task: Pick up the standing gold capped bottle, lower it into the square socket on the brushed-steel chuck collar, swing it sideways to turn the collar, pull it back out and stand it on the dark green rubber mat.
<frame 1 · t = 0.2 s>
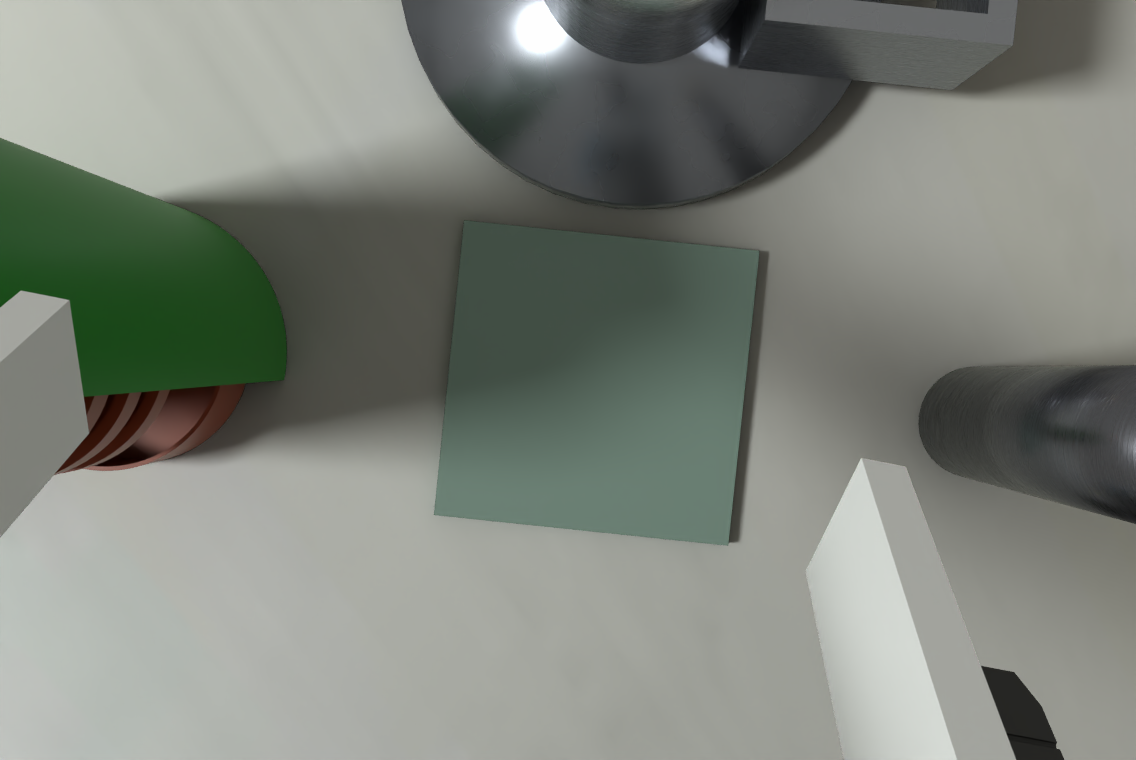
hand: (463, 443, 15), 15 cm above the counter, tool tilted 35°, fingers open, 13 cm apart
motor: (134, 334, 31), on the counter
gold capped bottle: (974, 422, 30), on the counter
mat: (596, 383, 30), on the counter
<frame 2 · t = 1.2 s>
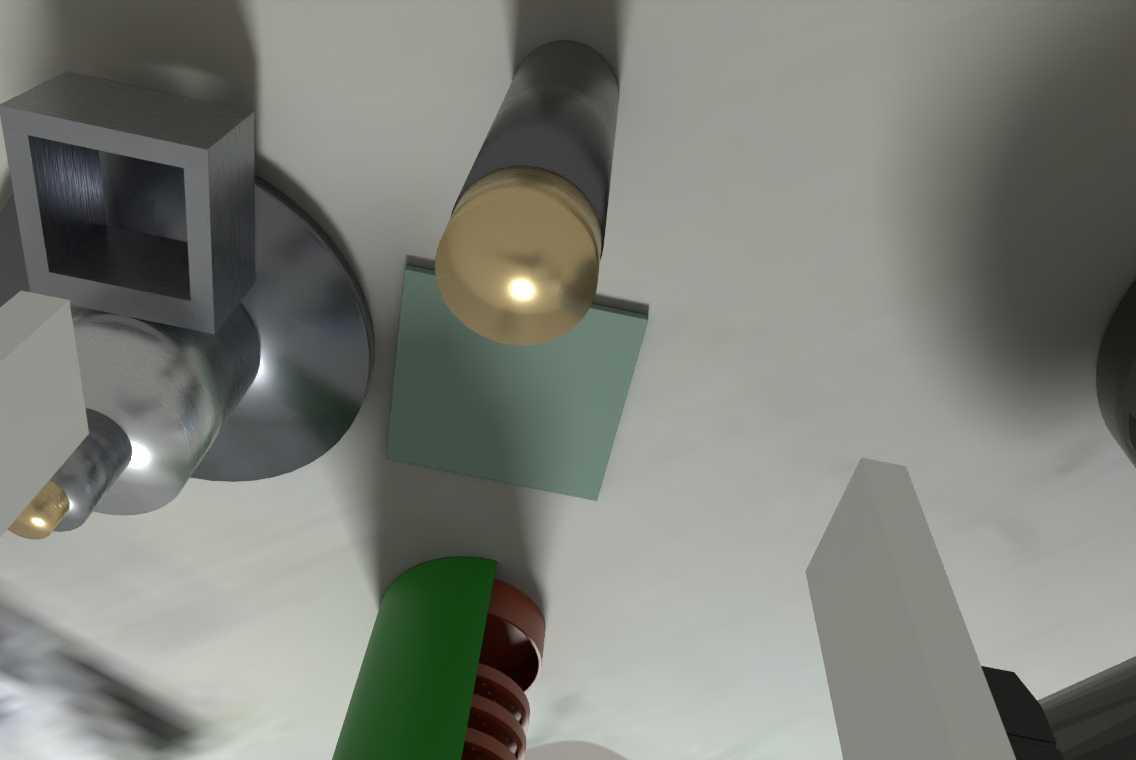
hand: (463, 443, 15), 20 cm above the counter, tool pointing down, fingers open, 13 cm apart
motor: (464, 624, 48), on the counter
chuck base: (190, 323, 38), on the counter
gold capped bottle: (565, 96, 32), on the counter
mat: (509, 388, 39), on the counter
chuck: (101, 336, 31), point 7 cm above the counter, hinge at 0.0°
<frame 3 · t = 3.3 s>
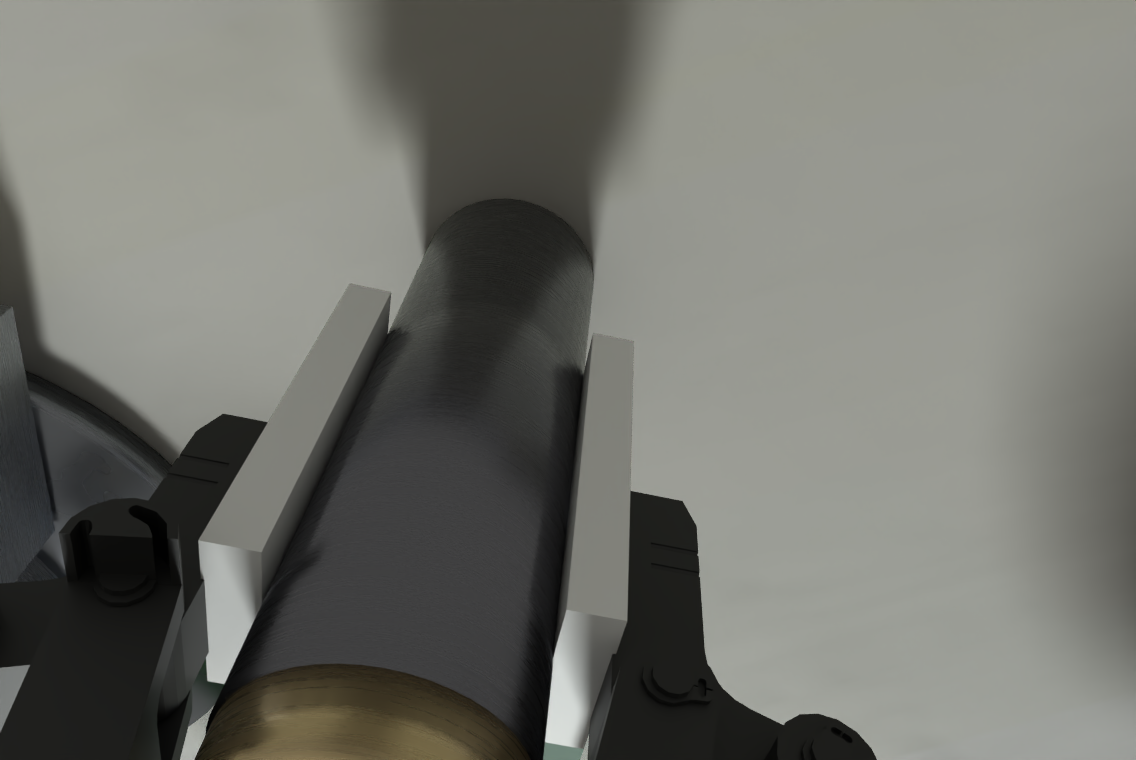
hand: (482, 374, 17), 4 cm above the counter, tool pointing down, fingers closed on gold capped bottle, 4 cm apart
gold capped bottle: (508, 278, 20), on the counter, touching gripper
mat: (445, 647, 27), on the counter
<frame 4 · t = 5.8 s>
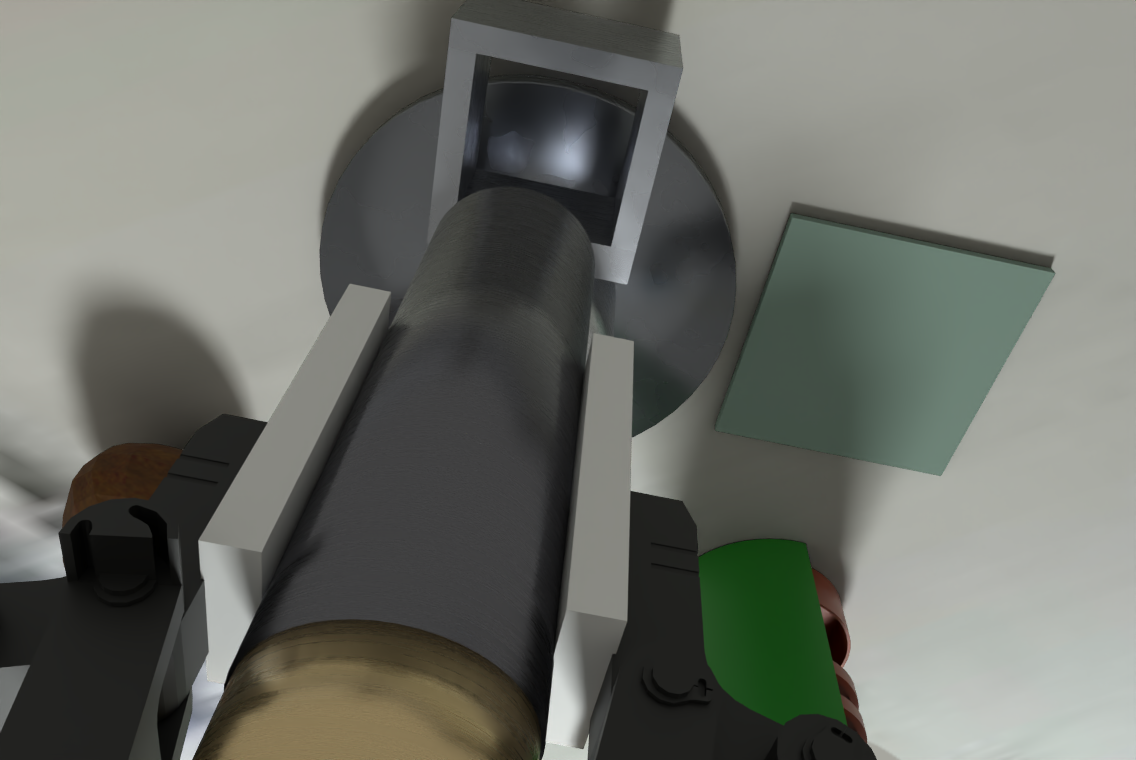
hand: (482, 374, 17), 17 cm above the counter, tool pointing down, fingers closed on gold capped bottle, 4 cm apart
motor: (750, 611, 45), on the counter
chuck base: (528, 281, 35), on the counter
gold capped bottle: (512, 265, 20), point 13 cm above the counter, touching gripper
potato: (194, 474, 43), on the counter
mat: (870, 352, 36), on the counter
chuck: (521, 285, 28), point 7 cm above the counter, hinge at 0.0°
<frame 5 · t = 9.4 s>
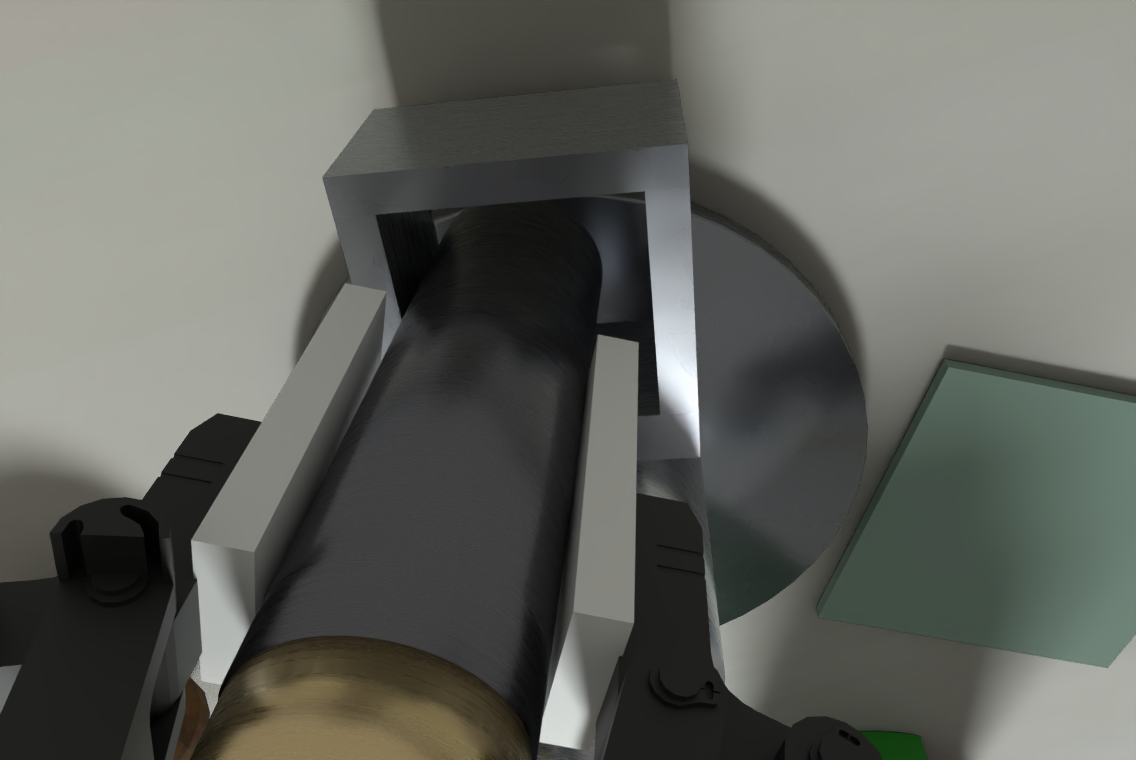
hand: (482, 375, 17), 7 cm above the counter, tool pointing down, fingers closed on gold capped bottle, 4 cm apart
chuck base: (577, 442, 26), on the counter
gold capped bottle: (519, 272, 20), point 2 cm above the counter, touching chuck, gripper
potato: (137, 659, 33), on the counter
mat: (1032, 525, 27), on the counter
chuck: (544, 511, 18), point 7 cm above the counter, hinge at 17.3°, touching gold capped bottle
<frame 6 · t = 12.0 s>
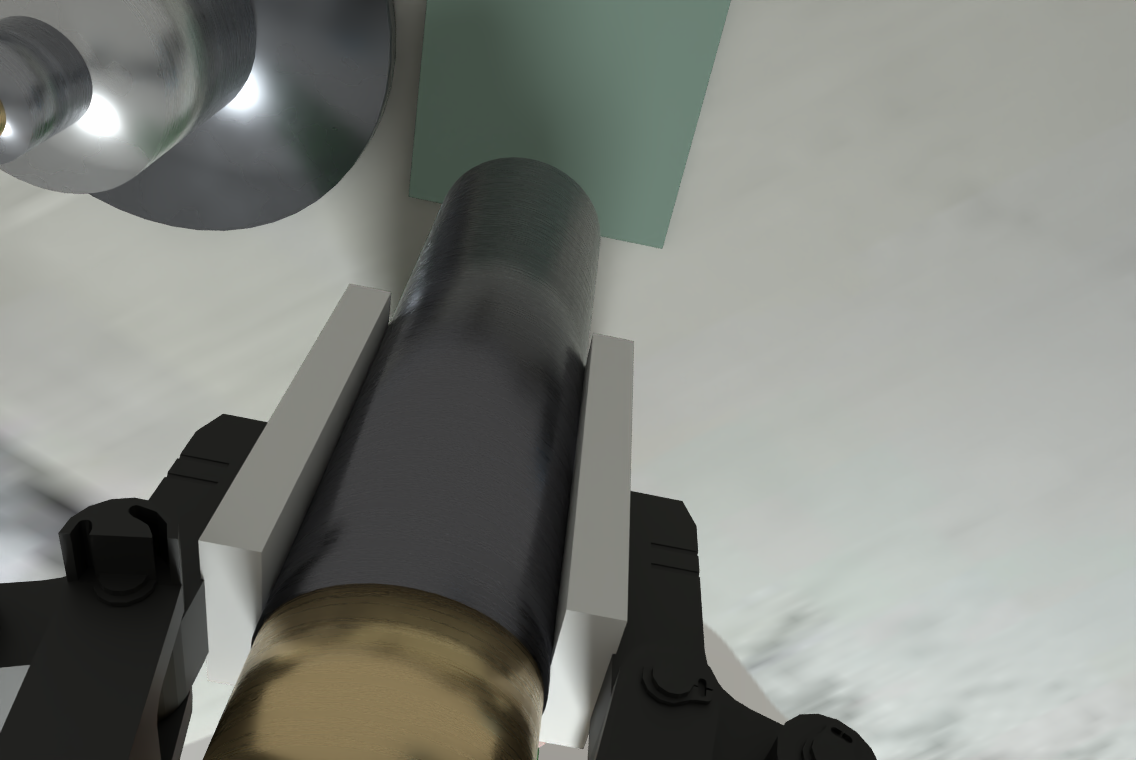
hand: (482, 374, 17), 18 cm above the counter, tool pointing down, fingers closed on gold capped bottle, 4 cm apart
chuck base: (170, 9, 31), on the counter
gold capped bottle: (519, 234, 21), point 13 cm above the counter, touching gripper
mat: (560, 92, 32), on the counter
when the fingers open (6 cm above the counter, at t = 14.6 s): gold capped bottle stays where it is, resting on mat.
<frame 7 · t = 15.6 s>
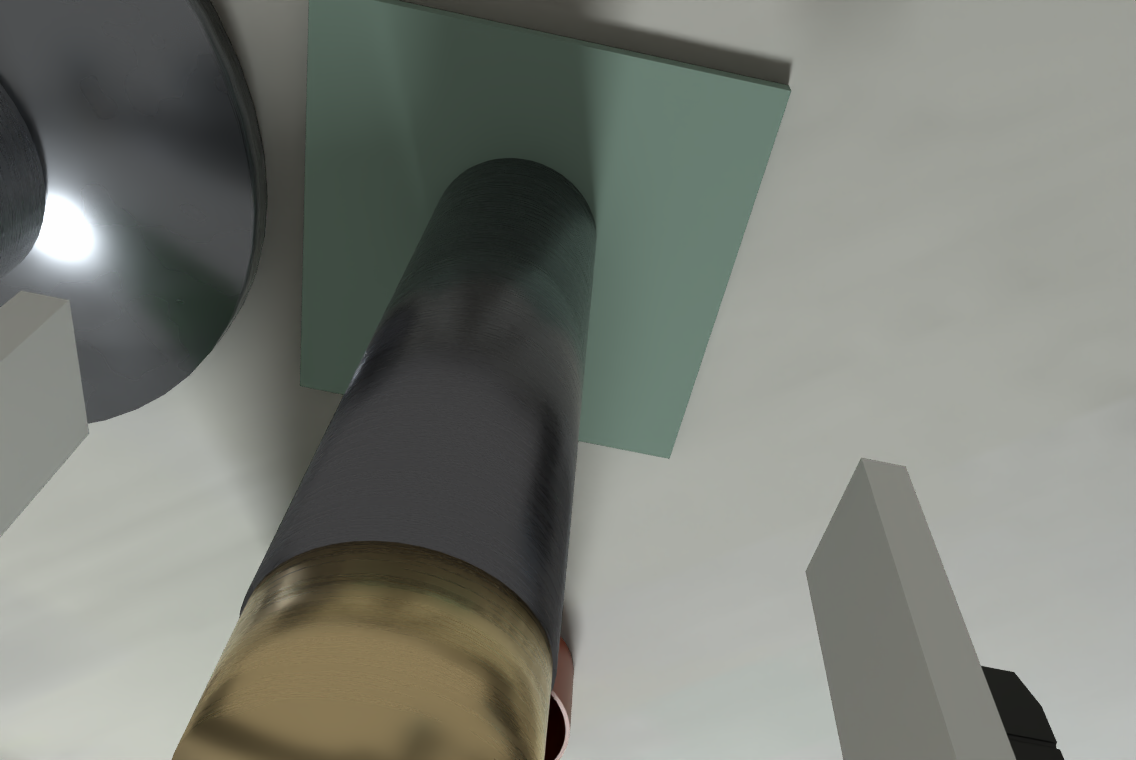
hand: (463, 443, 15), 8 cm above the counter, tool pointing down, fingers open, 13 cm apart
motor: (445, 662, 30), on the counter
gold capped bottle: (514, 237, 21), resting on mat
mat: (517, 249, 21), on the counter
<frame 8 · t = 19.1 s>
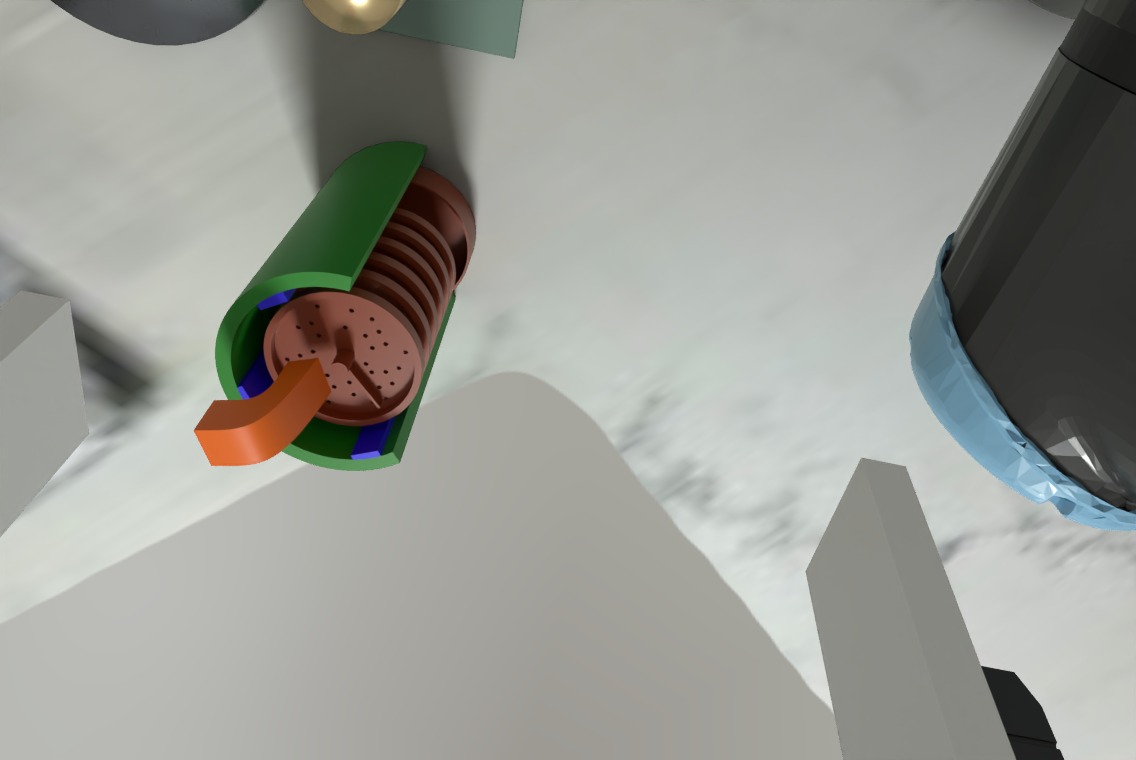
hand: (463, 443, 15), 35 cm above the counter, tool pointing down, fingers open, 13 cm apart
motor: (401, 229, 51), on the counter
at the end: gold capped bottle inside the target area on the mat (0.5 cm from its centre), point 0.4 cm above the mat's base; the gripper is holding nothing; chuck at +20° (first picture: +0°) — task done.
